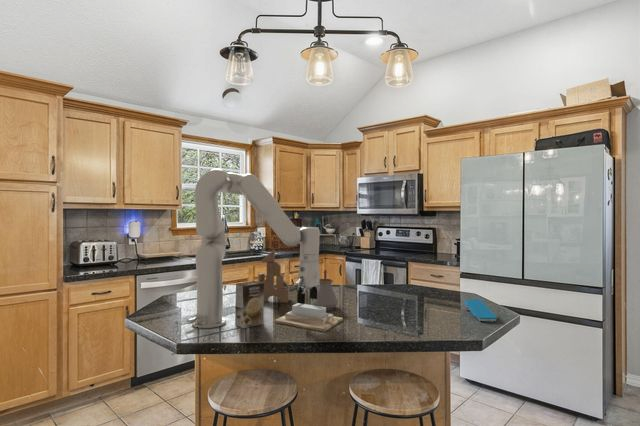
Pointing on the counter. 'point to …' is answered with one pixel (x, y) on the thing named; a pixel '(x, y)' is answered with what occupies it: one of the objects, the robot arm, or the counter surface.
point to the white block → (309, 310)
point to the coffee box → (249, 304)
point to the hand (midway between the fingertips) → (307, 300)
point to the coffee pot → (325, 294)
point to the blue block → (479, 309)
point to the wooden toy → (272, 271)
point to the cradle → (309, 321)
